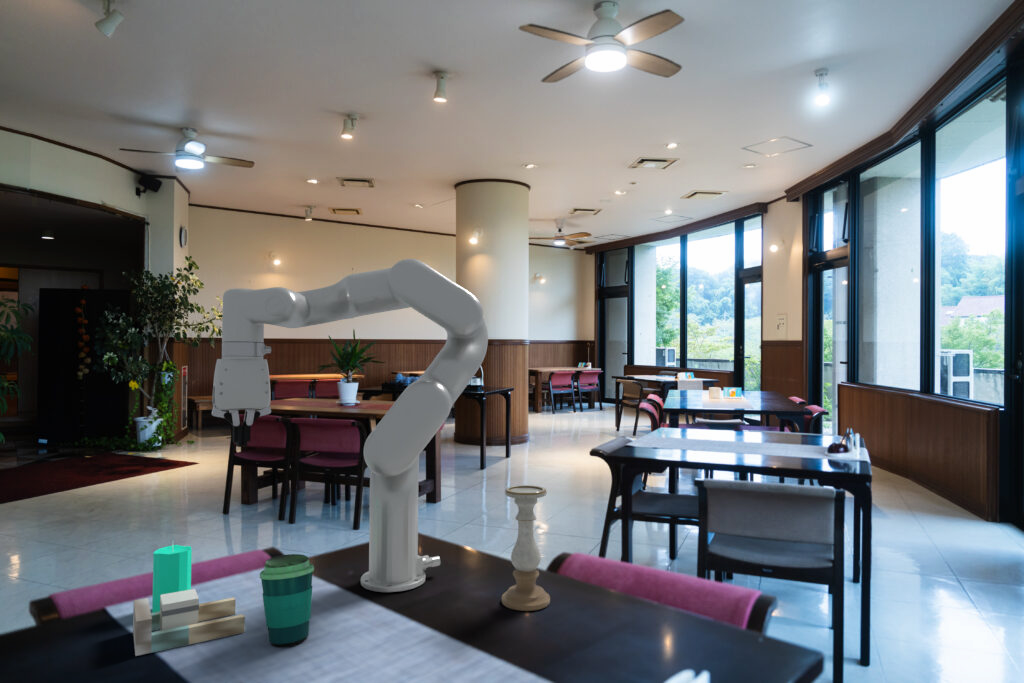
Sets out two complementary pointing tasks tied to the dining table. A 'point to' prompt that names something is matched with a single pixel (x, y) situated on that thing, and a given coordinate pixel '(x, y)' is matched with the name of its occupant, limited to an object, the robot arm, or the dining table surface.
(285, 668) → the dining table surface
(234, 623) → the guide channel
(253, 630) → the dining table surface
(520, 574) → the candle holder
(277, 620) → the cup
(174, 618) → the striped cream block
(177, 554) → the candle
